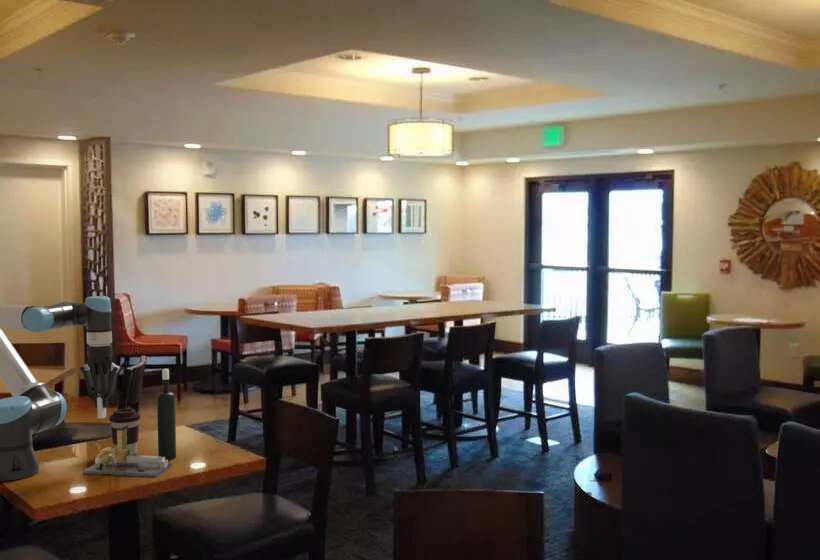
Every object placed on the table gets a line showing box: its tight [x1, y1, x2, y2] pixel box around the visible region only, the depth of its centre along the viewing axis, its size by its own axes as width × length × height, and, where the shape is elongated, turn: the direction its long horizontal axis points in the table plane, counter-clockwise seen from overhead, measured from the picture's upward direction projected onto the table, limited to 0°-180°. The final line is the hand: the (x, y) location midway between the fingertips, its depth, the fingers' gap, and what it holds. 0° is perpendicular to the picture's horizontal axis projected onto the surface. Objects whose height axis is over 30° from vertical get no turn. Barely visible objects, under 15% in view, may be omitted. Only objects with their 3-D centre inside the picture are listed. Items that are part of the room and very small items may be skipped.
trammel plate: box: [83, 446, 173, 478], centre depth 255 cm, size 24×11×6 cm, turn 82°
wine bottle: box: [156, 368, 177, 461], centre depth 268 cm, size 6×6×30 cm
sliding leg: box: [112, 425, 130, 468], centre depth 255 cm, size 3×8×12 cm, turn 172°
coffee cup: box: [108, 408, 141, 455], centre depth 273 cm, size 10×10×15 cm
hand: (102, 417), depth 257 cm, fingers closed
